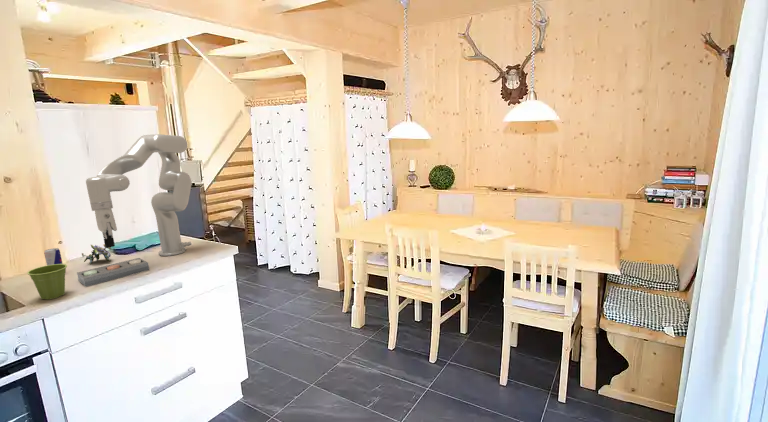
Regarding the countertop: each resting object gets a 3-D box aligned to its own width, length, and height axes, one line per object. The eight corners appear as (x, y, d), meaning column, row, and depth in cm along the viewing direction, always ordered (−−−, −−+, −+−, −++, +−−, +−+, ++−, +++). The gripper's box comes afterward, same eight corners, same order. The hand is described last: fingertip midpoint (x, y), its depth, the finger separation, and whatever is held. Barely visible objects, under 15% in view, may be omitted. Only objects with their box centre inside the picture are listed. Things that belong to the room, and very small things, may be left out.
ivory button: (139, 263, 184) (138, 258, 184) (143, 264, 181) (142, 260, 181) (128, 265, 181) (127, 261, 180) (131, 267, 178) (130, 263, 177)
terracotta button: (118, 268, 178) (117, 264, 178) (121, 270, 175) (120, 266, 175) (106, 271, 175) (105, 266, 174) (109, 273, 172) (108, 269, 171)
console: (140, 264, 188) (139, 257, 187) (149, 270, 180) (148, 262, 179) (78, 280, 170) (76, 272, 170) (85, 286, 163) (83, 278, 162)
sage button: (96, 273, 172) (95, 269, 171) (98, 276, 169) (98, 271, 168) (83, 277, 168) (82, 272, 168) (85, 279, 165) (85, 274, 165)
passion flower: (110, 271, 197) (116, 254, 192) (84, 274, 189) (89, 256, 184) (104, 255, 203) (110, 238, 198) (78, 257, 194) (83, 239, 189)
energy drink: (67, 273, 180) (62, 248, 177) (54, 278, 175) (48, 252, 173) (59, 272, 182) (54, 247, 179) (46, 277, 177) (40, 251, 174)
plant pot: (40, 305, 146) (34, 276, 144) (28, 299, 152) (22, 271, 150) (78, 293, 156) (72, 266, 154) (65, 288, 162) (59, 262, 160)
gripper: (117, 205, 167) (125, 247, 171) (107, 202, 177) (114, 242, 181) (96, 209, 161) (105, 252, 165) (86, 205, 171) (95, 246, 175)
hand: (110, 246), depth 173 cm, fingers closed
